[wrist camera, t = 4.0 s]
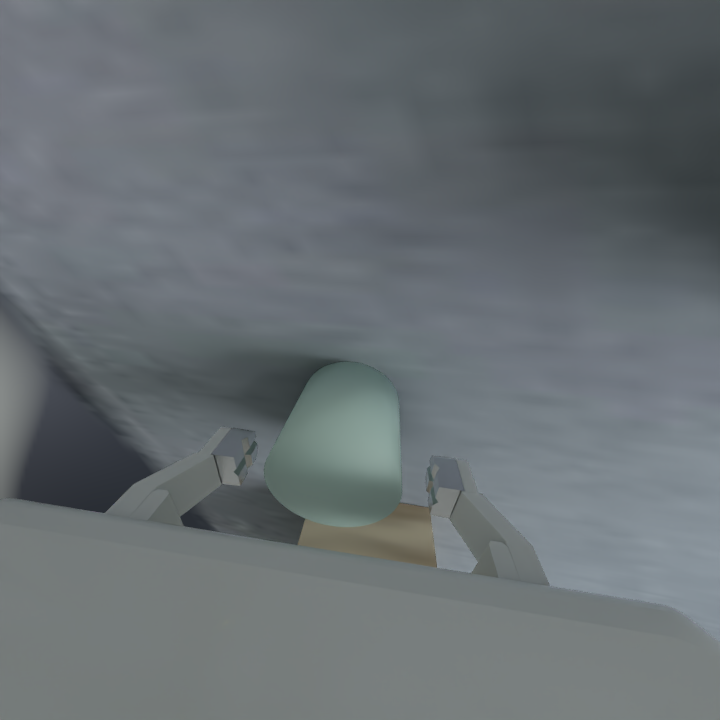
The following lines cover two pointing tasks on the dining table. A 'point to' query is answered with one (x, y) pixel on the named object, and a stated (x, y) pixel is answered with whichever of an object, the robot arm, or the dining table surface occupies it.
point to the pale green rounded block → (340, 449)
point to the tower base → (380, 537)
